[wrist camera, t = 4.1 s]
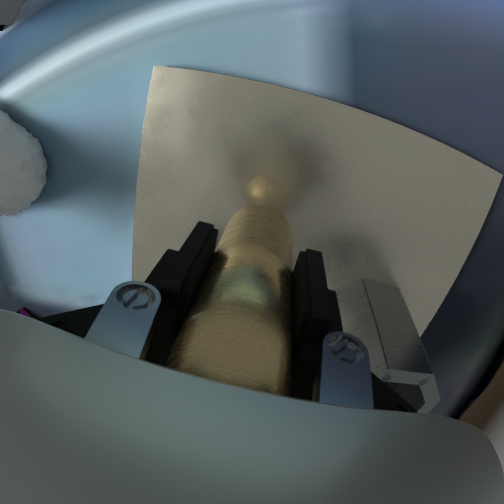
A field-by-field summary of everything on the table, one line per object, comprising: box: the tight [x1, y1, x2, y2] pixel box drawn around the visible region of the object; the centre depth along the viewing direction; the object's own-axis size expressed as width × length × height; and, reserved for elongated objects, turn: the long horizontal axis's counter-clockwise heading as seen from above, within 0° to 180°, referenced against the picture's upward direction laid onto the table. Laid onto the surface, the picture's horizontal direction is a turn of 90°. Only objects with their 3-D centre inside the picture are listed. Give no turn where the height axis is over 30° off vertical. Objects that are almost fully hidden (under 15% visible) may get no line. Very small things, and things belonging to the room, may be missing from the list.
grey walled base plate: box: [132, 66, 503, 414], centre depth 18 cm, size 26×20×8 cm
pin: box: [165, 205, 293, 397], centre depth 10 cm, size 3×3×10 cm
